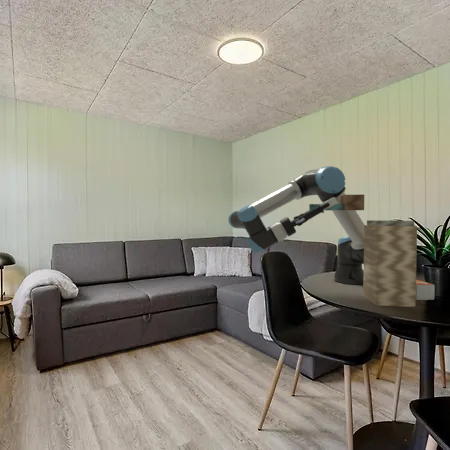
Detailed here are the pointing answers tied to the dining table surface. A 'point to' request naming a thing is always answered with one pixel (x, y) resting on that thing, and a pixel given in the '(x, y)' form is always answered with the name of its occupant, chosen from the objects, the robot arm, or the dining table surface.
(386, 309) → the dining table surface
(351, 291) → the dining table surface
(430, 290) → the small box
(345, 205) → the teal and brown block
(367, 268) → the wooden board
